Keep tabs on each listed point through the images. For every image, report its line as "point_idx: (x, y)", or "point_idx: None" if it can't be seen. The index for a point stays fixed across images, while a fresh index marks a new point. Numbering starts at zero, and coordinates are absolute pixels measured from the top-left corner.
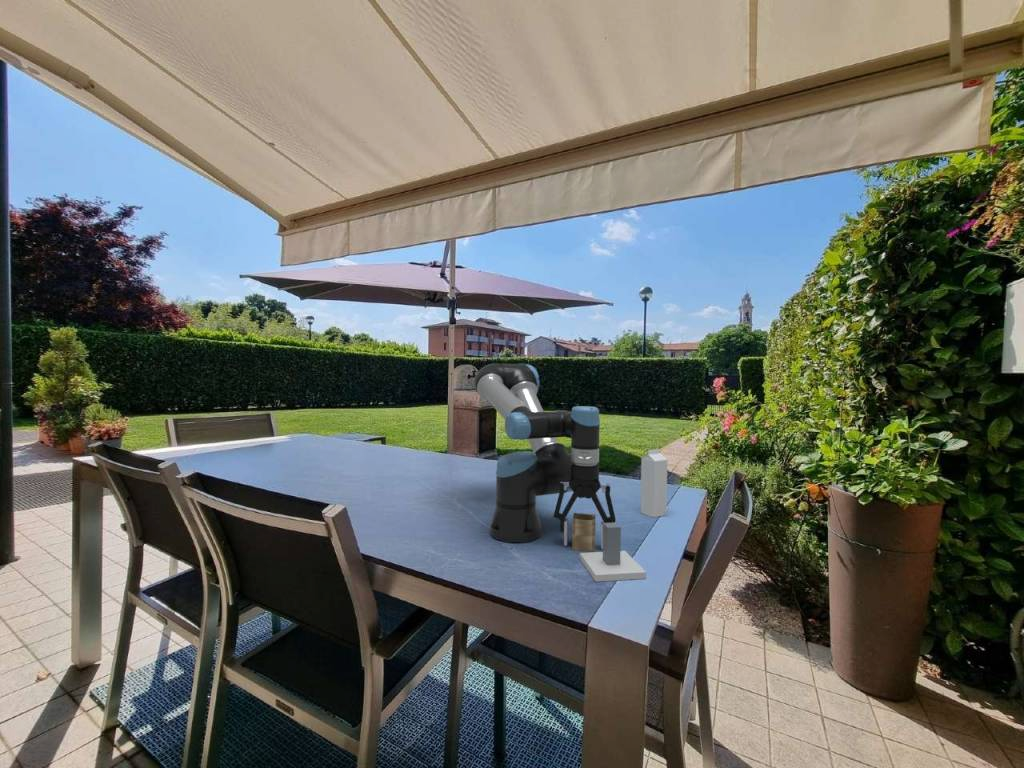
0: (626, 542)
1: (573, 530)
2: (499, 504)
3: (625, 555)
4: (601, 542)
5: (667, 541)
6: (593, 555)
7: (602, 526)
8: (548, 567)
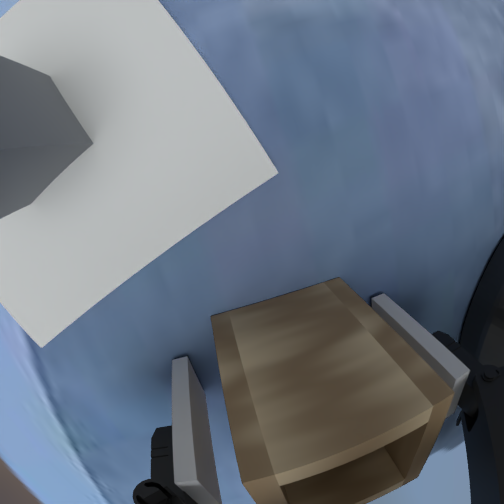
0: (124, 450)
1: (395, 342)
2: None
3: (9, 287)
4: (186, 382)
5: (36, 474)
6: (172, 179)
7: (187, 469)
8: (383, 13)
